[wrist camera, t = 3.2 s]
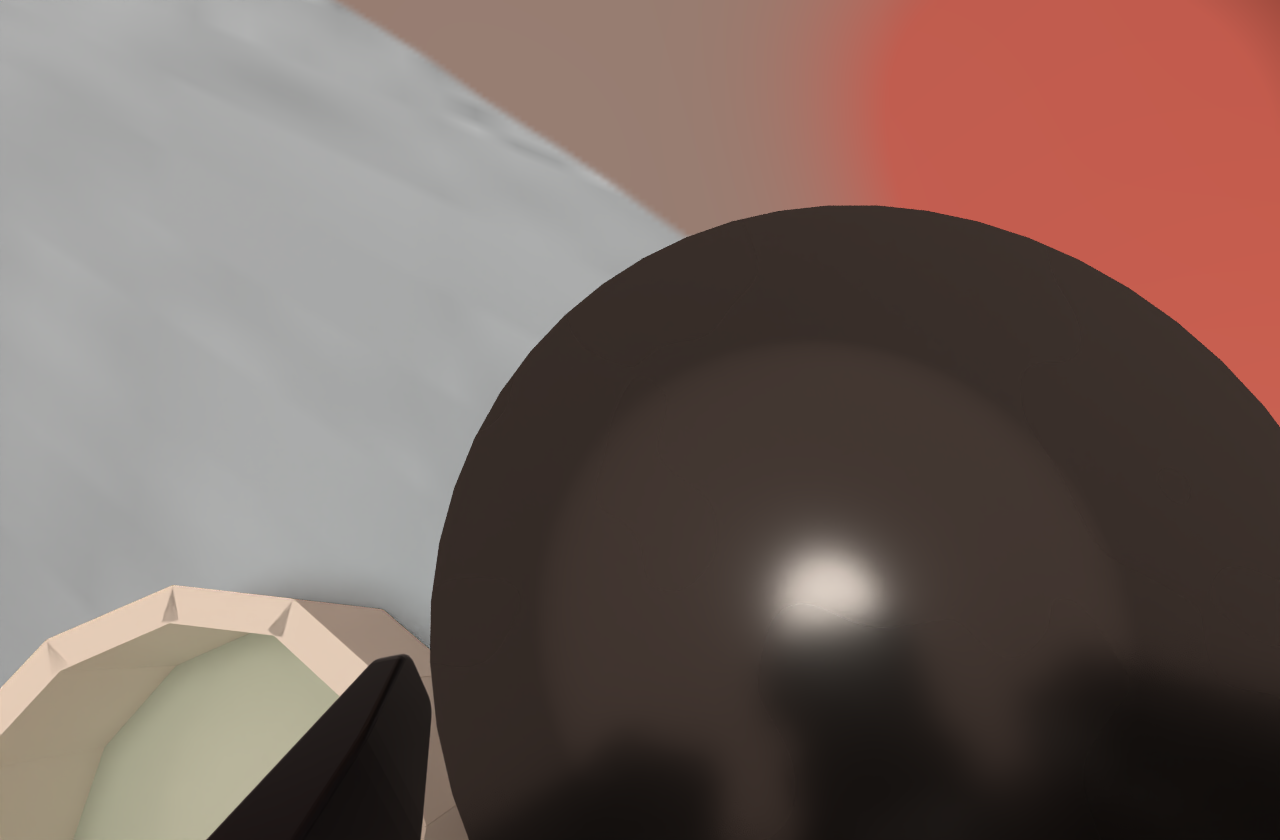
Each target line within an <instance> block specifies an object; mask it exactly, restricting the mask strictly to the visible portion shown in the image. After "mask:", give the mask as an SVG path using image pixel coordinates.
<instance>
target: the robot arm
mask: <svg viewBox="0 0 1280 840" xmlns="http://www.w3.org/2000/svg"><path fill="white" fill-rule="evenodd" d="M431 719H432V708H431V702H430V698H429V695H428V693H427V690H426V688H425V686H424V684H423V681H422V679H421V677H420V675H419V672H418V670H417V668H416V666H415V663H414V661H413V660H412V658H411V657H410V656H409V655H407V654H398V655H393V656H388V657H382V658H379V659H376V660H374V661H373V662H372V663H371V664H370V665H369V666H368V667H367V668H366V669H365V670H364V671H363V672H362V673H361V674H360V675H359V676H358V677H357V678H356V680H355V681H354V682H353V683H352V684H351V685H350V686H349V687H348V688H347V689H346V690H345V691H344V692H343V693H342V695H341V696H340V697H339V698H338V699H337V700H336V701H335V702H334V703H333V704H332V705H331V706H330V707H329V708H328V710H327V711H326V712H325V713H324V714H323V715H322V716H321V717H320V718H319V719H318V720H317V721H316V722H315V723H314V725H313V726H312V727H311V728H310V729H309V730H308V731H307V732H306V733H305V734H304V735H303V736H302V737H301V739H300V740H299V741H298V742H297V743H296V744H295V745H294V746H293V747H292V748H291V749H290V750H289V751H288V752H287V754H286V755H285V756H284V757H283V758H282V759H281V760H280V761H279V762H278V763H277V764H276V765H275V766H274V767H273V769H272V770H271V771H270V772H269V773H268V774H267V775H266V776H265V777H264V778H263V779H262V780H261V781H260V782H259V784H258V785H257V786H256V787H255V788H254V789H253V790H252V791H251V792H250V793H249V794H248V795H247V796H246V797H245V799H244V800H243V801H242V802H241V803H240V804H239V805H238V806H237V807H236V808H235V809H234V810H233V811H232V812H231V814H230V815H229V816H228V817H227V818H226V819H225V820H224V821H223V822H222V823H221V824H220V825H219V826H218V827H217V829H216V830H215V831H214V832H213V833H212V834H211V835H210V836H209V837H208V838H207V839H206V840H421V833H422V823H423V813H424V801H425V789H426V778H427V766H428V754H429V743H430V731H431Z"/></svg>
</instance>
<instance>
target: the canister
mask: <svg viewBox="0 0 1280 840" xmlns="http://www.w3.org/2000/svg"><path fill="white" fill-rule="evenodd" d="M430 668H431V677H432V687H433V697H434V706H435V716H436V725H437V731H438V735H439V739H440V744H441V748H442V752H443V757H444V761H445V765H446V770H447V774H448V778H449V783H450V787H451V791H452V795H453V798H454V800H455V803H456V806H457V809H458V811H459V814H460V817H461V820H462V822H463V825H464V828H465V831H466V833H467V836H468V839H469V840H1280V427H1279V425H1278V424H1277V423H1276V421H1275V420H1274V419H1273V418H1272V416H1271V415H1270V414H1269V412H1268V411H1267V409H1266V408H1265V407H1264V406H1263V405H1262V403H1260V401H1259V400H1258V399H1257V398H1256V397H1255V396H1254V395H1253V394H1252V393H1251V392H1250V391H1249V390H1248V389H1247V388H1246V387H1245V385H1244V384H1243V383H1242V382H1241V381H1240V380H1239V379H1238V378H1237V377H1236V376H1235V375H1234V374H1233V373H1232V371H1231V370H1230V369H1228V367H1227V366H1226V365H1225V364H1224V363H1223V362H1222V361H1221V360H1220V359H1219V358H1218V357H1217V356H1215V355H1214V354H1213V353H1212V352H1211V351H1210V350H1208V349H1207V348H1206V347H1205V346H1204V345H1203V344H1202V343H1200V342H1199V341H1198V340H1197V339H1196V338H1195V337H1193V336H1192V335H1191V334H1190V333H1189V332H1188V331H1187V330H1185V329H1184V328H1183V327H1182V326H1181V325H1180V324H1179V323H1177V322H1176V321H1175V320H1173V319H1172V318H1170V317H1169V316H1168V315H1166V314H1165V313H1164V312H1162V311H1161V310H1159V309H1158V308H1156V307H1155V306H1154V305H1152V304H1151V303H1149V302H1148V301H1147V300H1145V299H1144V298H1142V297H1141V296H1139V295H1138V294H1137V293H1135V292H1134V291H1132V290H1131V289H1129V288H1128V287H1126V286H1124V285H1123V284H1121V283H1119V282H1117V281H1115V280H1114V279H1112V278H1110V277H1108V276H1107V275H1105V274H1103V273H1101V272H1100V271H1098V270H1096V269H1094V268H1093V267H1091V266H1089V265H1087V264H1085V263H1084V262H1082V261H1080V260H1078V259H1076V258H1074V257H1071V256H1069V255H1066V254H1064V253H1062V252H1060V251H1057V250H1055V249H1053V248H1050V247H1048V246H1046V245H1044V244H1042V243H1039V242H1037V241H1034V240H1032V239H1030V238H1027V237H1024V236H1021V235H1018V234H1015V233H1012V232H1009V231H1006V230H1002V229H999V228H996V227H993V226H990V225H987V224H984V223H981V222H977V221H973V220H968V219H963V218H959V217H954V216H949V215H944V214H939V213H935V212H930V211H924V210H914V209H905V208H894V207H886V206H820V207H811V208H803V209H793V210H784V211H777V212H773V213H768V214H763V215H759V216H755V217H750V218H746V219H742V220H737V221H732V222H730V223H727V224H723V225H721V226H718V227H715V228H712V229H709V230H706V231H704V232H700V233H698V234H695V235H692V236H689V237H686V238H684V239H682V240H680V241H678V242H676V243H674V244H672V245H670V246H668V247H665V248H663V249H661V250H659V251H657V252H655V253H653V254H651V255H649V256H647V257H645V258H643V259H641V260H640V261H638V262H637V263H635V264H633V265H632V266H630V267H629V268H627V269H626V270H624V271H623V272H621V273H619V274H618V275H616V276H615V277H613V278H612V279H610V280H608V281H607V282H605V283H604V284H602V285H601V286H600V287H599V288H597V289H596V290H595V291H594V292H593V293H591V294H590V295H589V296H588V297H587V298H585V299H584V300H583V301H582V302H580V303H579V304H578V305H577V306H576V307H574V308H573V309H572V310H571V311H570V312H568V313H567V314H566V315H565V316H564V317H563V318H562V319H561V320H560V321H559V322H558V323H557V324H556V325H555V326H554V327H553V328H552V329H551V330H550V332H549V333H548V334H547V335H546V336H545V337H544V338H543V339H542V340H541V341H540V342H539V343H538V344H537V345H536V346H535V347H534V348H533V349H532V350H531V352H530V353H529V354H528V356H527V357H526V358H525V360H524V361H523V362H522V364H521V365H520V367H519V368H518V369H517V371H516V372H515V373H514V375H513V376H512V377H511V379H510V380H509V381H508V383H507V384H506V385H505V387H504V388H503V390H502V391H501V392H500V394H499V396H498V398H497V399H496V401H495V403H494V405H493V406H492V408H491V410H490V412H489V414H488V415H487V417H486V419H485V421H484V422H483V424H482V426H481V428H480V430H479V431H478V433H477V435H476V437H475V439H474V441H473V444H472V446H471V448H470V451H469V453H468V456H467V458H466V461H465V463H464V466H463V468H462V470H461V473H460V475H459V478H458V480H457V483H456V485H455V488H454V491H453V495H452V498H451V502H450V506H449V509H448V513H447V517H446V520H445V524H444V528H443V531H442V535H441V539H440V543H439V549H438V556H437V564H436V571H435V578H434V585H433V592H432V599H431V635H430Z"/></svg>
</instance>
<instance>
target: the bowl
mask: <svg viewBox="0 0 1280 840" xmlns="http://www.w3.org/2000/svg"><path fill="white" fill-rule="evenodd" d="M398 654H407V655H409V656H410V657H411V658H412V660H413V661H414V663H415V666H416V668H417V670H418V672H419V675H420V677H421V679H422V681H423V684H424V686H425V688H426V690H427V693H428V695H429V698H430V702H431V708H432V719H431V731H430V743H429V754H428V766H427V778H426V789H425V801H424V813H423V823H422V833H421V840H469V839H468V836H467V833H466V831H465V828H464V825H463V822H462V820H461V817H460V814H459V811H458V809H457V806H456V803H455V800H454V798H453V795H452V791H451V787H450V783H449V778H448V774H447V770H446V765H445V761H444V757H443V752H442V748H441V744H440V739H439V735H438V731H437V725H436V716H435V706H434V697H433V687H432V677H431V668H430V649H429V648H427V647H426V646H425V645H424V644H423V643H422V642H420V641H419V640H418V639H417V638H416V637H415V636H413V635H412V634H411V633H410V632H409V631H408V630H406V629H405V628H404V627H403V626H402V625H401V624H399V623H398V622H397V621H396V620H395V619H394V618H392V617H391V616H390V615H389V614H388V613H387V612H385V611H384V610H383V609H376V608H368V607H359V606H351V605H342V604H334V603H325V602H317V601H308V600H299V599H291V598H282V597H273V596H264V595H256V594H247V593H238V592H229V591H220V590H211V589H203V588H194V587H185V586H176V585H172V586H170V587H167V588H165V589H163V590H160V591H158V592H156V593H153V594H151V595H149V596H147V597H144V598H142V599H140V600H137V601H135V602H133V603H130V604H128V605H126V606H123V607H121V608H119V609H116V610H114V611H112V612H109V613H107V614H105V615H102V616H100V617H98V618H96V619H93V620H91V621H89V622H86V623H84V624H82V625H79V626H77V627H75V628H72V629H70V630H68V631H65V632H63V633H61V634H58V635H56V636H54V637H52V638H49V639H47V640H46V641H45V642H44V643H43V644H42V645H41V646H40V647H39V648H38V649H37V650H36V651H35V652H34V653H33V654H32V656H31V657H30V658H29V659H28V660H27V661H26V662H25V663H24V664H23V665H22V666H21V667H20V668H19V669H18V670H17V671H16V672H15V674H14V675H13V676H12V677H11V678H10V679H9V680H8V681H7V682H6V683H5V684H4V685H3V686H2V687H1V688H0V840H206V839H207V838H208V837H209V836H210V835H211V834H212V833H213V832H214V831H215V830H216V829H217V827H218V826H219V825H220V824H221V823H222V822H223V821H224V820H225V819H226V818H227V817H228V816H229V815H230V814H231V812H232V811H233V810H234V809H235V808H236V807H237V806H238V805H239V804H240V803H241V802H242V801H243V800H244V799H245V797H246V796H247V795H248V794H249V793H250V792H251V791H252V790H253V789H254V788H255V787H256V786H257V785H258V784H259V782H260V781H261V780H262V779H263V778H264V777H265V776H266V775H267V774H268V773H269V772H270V771H271V770H272V769H273V767H274V766H275V765H276V764H277V763H278V762H279V761H280V760H281V759H282V758H283V757H284V756H285V755H286V754H287V752H288V751H289V750H290V749H291V748H292V747H293V746H294V745H295V744H296V743H297V742H298V741H299V740H300V739H301V737H302V736H303V735H304V734H305V733H306V732H307V731H308V730H309V729H310V728H311V727H312V726H313V725H314V723H315V722H316V721H317V720H318V719H319V718H320V717H321V716H322V715H323V714H324V713H325V712H326V711H327V710H328V708H329V707H330V706H331V705H332V704H333V703H334V702H335V701H336V700H337V699H338V698H339V697H340V696H341V695H342V693H343V692H344V691H345V690H346V689H347V688H348V687H349V686H350V685H351V684H352V683H353V682H354V681H355V680H356V678H357V677H358V676H359V675H360V674H361V673H362V672H363V671H364V670H365V669H366V668H367V667H368V666H369V665H370V664H371V663H372V662H373V661H374V660H376V659H379V658H382V657H388V656H393V655H398Z"/></svg>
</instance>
